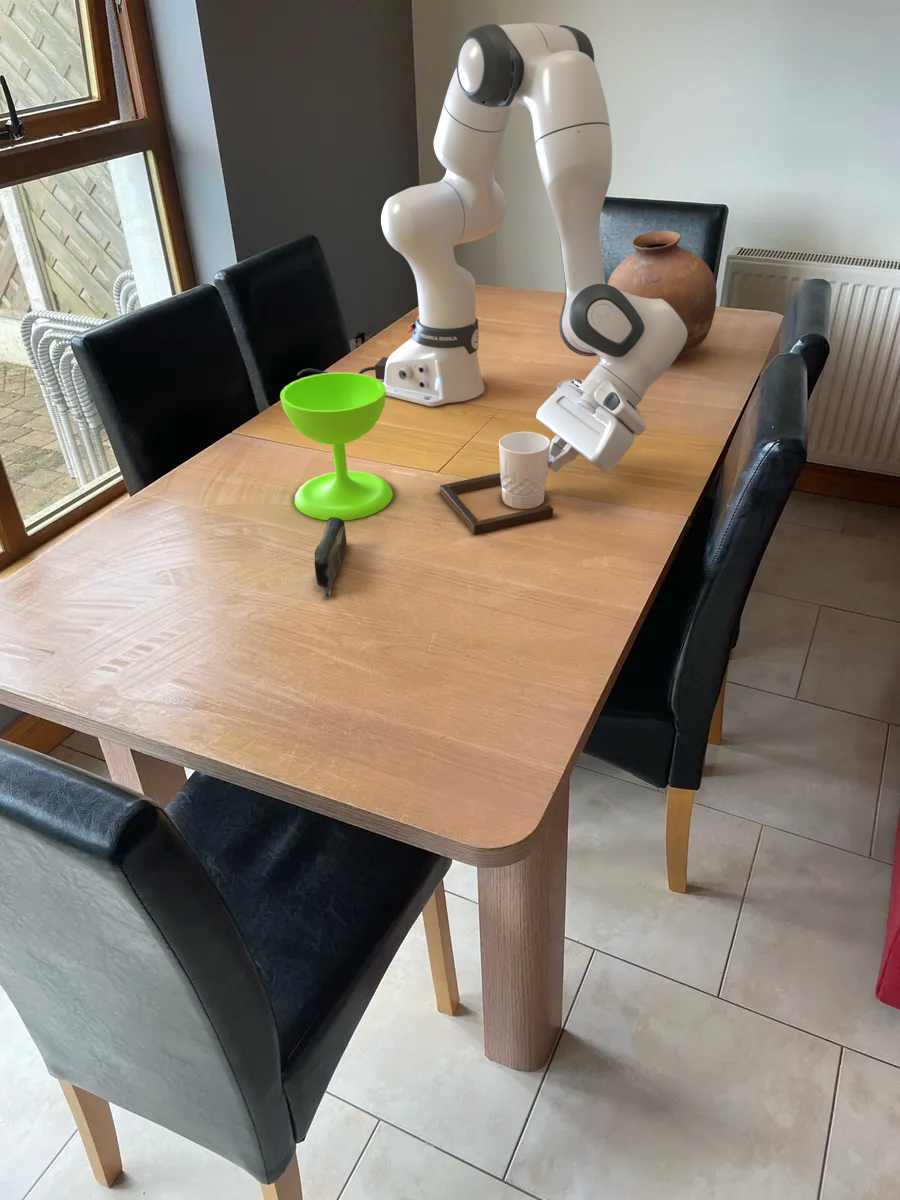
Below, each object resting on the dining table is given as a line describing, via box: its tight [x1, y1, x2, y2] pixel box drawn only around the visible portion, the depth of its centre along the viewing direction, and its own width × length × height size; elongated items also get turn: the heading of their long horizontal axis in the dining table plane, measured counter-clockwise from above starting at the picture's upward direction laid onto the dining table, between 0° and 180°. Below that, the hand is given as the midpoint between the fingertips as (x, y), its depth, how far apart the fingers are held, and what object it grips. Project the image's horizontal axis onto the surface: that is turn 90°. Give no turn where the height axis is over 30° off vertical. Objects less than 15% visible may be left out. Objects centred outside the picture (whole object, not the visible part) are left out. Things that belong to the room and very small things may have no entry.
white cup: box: [498, 431, 551, 510], centre depth 144 cm, size 8×8×10 cm
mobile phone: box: [314, 517, 347, 598], centre depth 130 cm, size 5×3×15 cm
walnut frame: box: [439, 472, 554, 536], centre depth 145 cm, size 13×14×2 cm
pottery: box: [607, 230, 718, 359], centre depth 193 cm, size 23×23×25 cm
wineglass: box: [279, 371, 394, 521], centre depth 144 cm, size 16×16×18 cm
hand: (548, 467), depth 145 cm, fingers closed, pressing on white cup
